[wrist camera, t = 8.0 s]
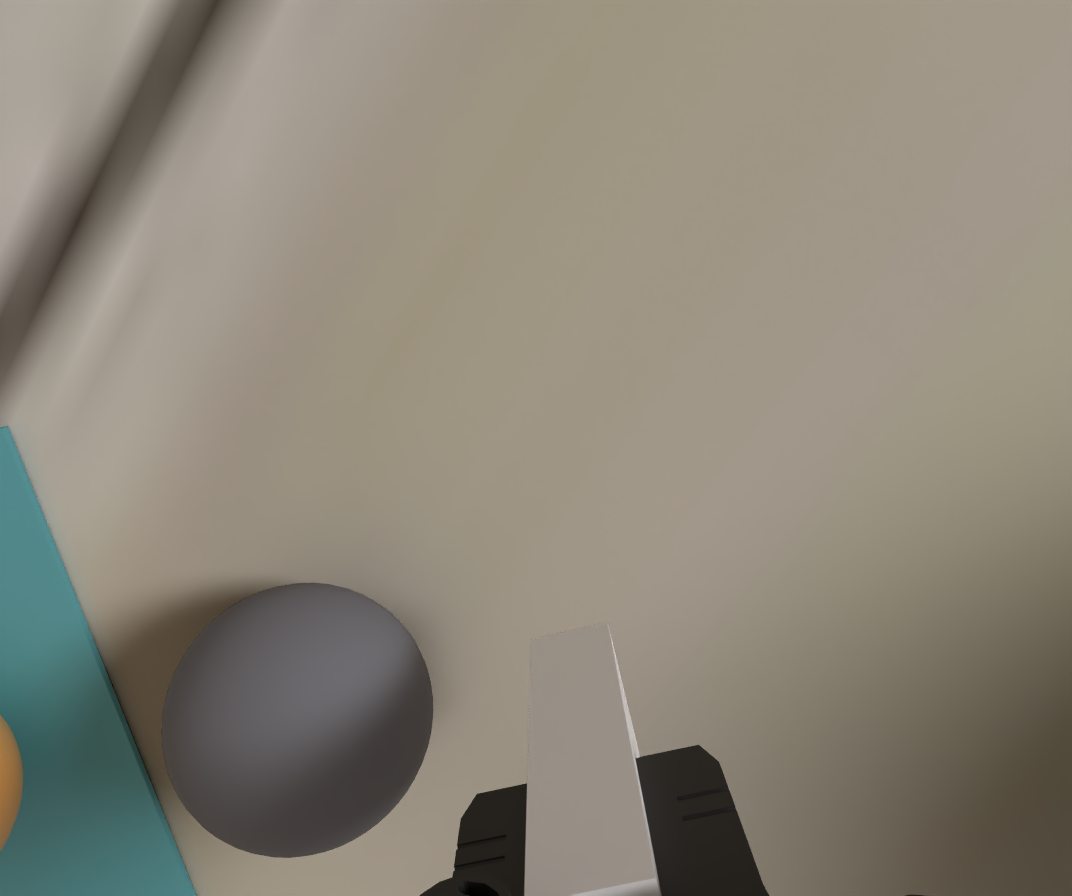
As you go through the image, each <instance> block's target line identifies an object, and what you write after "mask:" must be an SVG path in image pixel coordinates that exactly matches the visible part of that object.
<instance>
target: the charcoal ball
mask: <svg viewBox="0 0 1072 896" xmlns="http://www.w3.org/2000/svg"><path fill="white" fill-rule="evenodd" d="M432 719H433V696H432V689H431V683H430V678H429V674H428V671H427V667H426V664H425V661H424V659H423V657H422V655H421V653H420V650H419V648H418V646H417V644H416V642H415V641H414V639H413V638H412V636H411V635H410V633H409V632H408V630H407V629H406V628H405V627H404V626H403V625H402V624H401V623H400V622H399V621H398V620H397V618H396V617H395V616H394V615H393V614H392V613H390V612H389V611H388V610H387V609H385V608H384V607H383V606H381V605H380V604H378V603H377V602H375V601H373V600H372V599H370V598H368V597H366V596H365V595H363V594H360V593H358V592H355V591H352V590H350V589H346V588H343V587H338V586H334V585H329V584H320V583H298V584H291V585H285V586H279V587H275V588H271V589H268V590H265V591H261V592H259V593H257V594H254V595H252V596H250V597H247V598H245V599H243V600H242V601H240V602H238V603H236V604H235V605H233V606H231V607H230V608H228V609H227V610H226V611H224V612H223V613H222V614H220V615H219V616H218V617H216V618H215V619H214V620H213V621H212V622H211V623H210V624H209V625H208V626H207V627H206V628H205V629H204V630H203V631H202V632H201V633H200V634H199V636H198V637H197V638H196V639H195V640H194V641H193V643H192V644H191V646H190V647H189V649H188V650H187V652H186V653H185V655H184V656H183V658H182V659H181V661H180V663H179V665H178V667H177V669H176V671H175V673H174V675H173V678H172V680H171V683H170V686H169V689H168V692H167V696H166V701H165V705H164V710H163V718H162V731H161V733H162V746H163V754H164V760H165V764H166V768H167V772H168V775H169V777H170V779H171V782H172V784H173V786H174V789H175V791H176V793H177V795H178V797H179V798H180V800H181V802H182V803H183V805H184V806H185V808H186V809H187V810H188V811H189V813H190V814H191V815H192V816H193V817H194V818H195V819H196V820H197V821H198V822H199V823H200V824H201V825H202V827H203V828H205V829H206V830H207V831H209V832H210V833H211V834H213V835H214V836H215V837H217V838H219V839H220V840H222V841H224V842H226V843H228V844H230V845H232V846H234V847H235V848H238V849H241V850H244V851H247V852H250V853H254V854H258V855H264V856H270V857H284V858H291V857H301V856H308V855H313V854H317V853H322V852H326V851H329V850H332V849H334V848H337V847H340V846H342V845H344V844H346V843H348V842H350V841H352V840H354V839H356V838H357V837H359V836H361V835H362V834H364V833H366V832H367V831H368V830H370V829H371V828H372V827H374V826H375V825H376V824H378V823H379V822H380V821H381V820H382V819H383V818H384V817H385V816H387V815H388V814H389V813H390V811H391V810H392V809H393V808H394V807H395V806H396V805H397V804H398V803H399V801H400V800H401V799H402V797H403V796H404V795H405V793H406V792H407V791H408V789H409V787H410V786H411V784H412V782H413V781H414V779H415V777H416V775H417V773H418V771H419V769H420V766H421V764H422V762H423V759H424V756H425V753H426V750H427V748H428V744H429V739H430V735H431V728H432Z"/></svg>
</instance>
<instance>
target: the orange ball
mask: <svg viewBox="0 0 1072 896" xmlns="http://www.w3.org/2000/svg"><path fill="white" fill-rule="evenodd" d="M22 791H23V766H22V759H21V754H20V751H19V747H18V744H17V741H16V739H15V737H14V734H13V732H12V730H11V728H10V727H9V725H8V724H7V722H6V721H5V719H4V718H3V717H2V716H1V715H0V851H1V849H2V848H3V846H4V845H5V843H6V841H7V839H8V837H9V835H10V833H11V830H12V828H13V825H14V823H15V820H16V818H17V815H18V811H19V808H20V803H21V799H22Z"/></svg>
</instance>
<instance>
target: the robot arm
mask: <svg viewBox="0 0 1072 896" xmlns="http://www.w3.org/2000/svg"><path fill="white" fill-rule="evenodd" d="M457 846H458V849H457V850H456V857H455V864H454V867H455V871H453V877H452V878H449V879H447V880H444V881H441V882H439V883H437V884H436V885H434V886H433V887H431V888H430V889H428V890H427V891H425V892H424V893H422V894H421V895H420V896H769V894H768V893H767V891H766V889H765V887H764V885H763V883H762V880H761V877H760V875H759V872H758V869H757V866H756V863H755V861H754V858H753V855H752V852H751V849H750V847H749V844H748V841H747V838H746V835H745V833H744V830H743V827H742V824H741V822H740V819H739V816H738V813H737V810H736V809H735V805H734V802H733V799H732V796H731V794H730V791H729V789H728V785H727V783H726V780H725V777H724V774H723V771H722V769H721V766H720V763H719V762H718V761H717V760H716V759H715V758H714V757H712V756H711V755H710V754H709V753H708V752H707V751H705V750H704V749H703V748H702V747H701V746H699V745H695V746H691V747H686V748H681V749H676V750H672V751H667V752H662V753H657V754H653V755H648V756H643V757H640V756H639V751H638V746H637V742H636V738H635V734H634V730H633V725H632V721H631V717H630V713H629V709H628V705H627V700H626V696H625V692H624V688H623V684H622V680H621V675H620V671H619V667H618V663H617V659H616V655H615V650H614V646H613V642H612V638H611V634H610V630H609V625H608V622H606V623H602V624H597V625H593V626H588V627H583V628H579V629H574V630H570V631H565V632H561V633H556V634H552V635H547V636H543V637H538V638H534V639H531V652H530V691H529V730H528V769H527V784H522V785H517V786H513V787H508V788H503V789H499V790H494V791H489V792H484V793H480V794H477V795H476V796H475V798H474V799H473V801H472V802H471V804H470V806H469V807H468V809H467V810H466V812H465V813H464V815H463V816H462V818H461V822H460V829H459V836H458V843H457ZM906 896H922V895H906Z"/></svg>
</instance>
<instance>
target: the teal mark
mask: <svg viewBox="0 0 1072 896" xmlns="http://www.w3.org/2000/svg"><path fill="white" fill-rule="evenodd" d="M0 715H1V716H2V717H3V718H4V719H5V721H6V722H7V724H8V725H9V727H10V728H11V730H12V732H13V734H14V737H15V739H16V741H17V744H18V747H19V751H20V754H21V759H22V766H23V791H22V799H21V803H20V808H19V811H18V815H17V818H16V820H15V823H14V825H13V828H12V830H11V833H10V835H9V837H8V839H7V841H6V843H5V845H4V846H3V848H2V849H1V851H0V896H196V893H195V891H194V888H193V886H192V883H191V881H190V878H189V876H188V873H187V871H186V868H185V866H184V863H183V861H182V859H181V856H180V854H179V851H178V849H177V846H176V844H175V841H174V839H173V836H172V834H171V831H170V829H169V826H168V824H167V821H166V819H165V816H164V814H163V811H162V809H161V806H160V804H159V801H158V799H157V796H156V794H155V791H154V789H153V786H152V784H151V781H150V779H149V776H148V774H147V771H146V769H145V766H144V764H143V761H142V759H141V756H140V754H139V752H138V749H137V747H136V744H135V742H134V739H133V737H132V734H131V732H130V729H129V727H128V724H127V722H126V719H125V717H124V714H123V712H122V709H121V707H120V704H119V702H118V699H117V697H116V694H115V692H114V689H113V687H112V684H111V682H110V679H109V677H108V674H107V672H106V669H105V667H104V664H103V662H102V659H101V657H100V654H99V652H98V649H97V647H96V645H95V642H94V640H93V637H92V635H91V632H90V630H89V627H88V625H87V622H86V620H85V617H84V615H83V612H82V610H81V607H80V605H79V602H78V600H77V597H76V595H75V592H74V590H73V587H72V585H71V582H70V580H69V577H68V575H67V572H66V570H65V567H64V565H63V562H62V560H61V557H60V555H59V552H58V550H57V547H56V545H55V542H54V540H53V538H52V535H51V533H50V530H49V528H48V525H47V523H46V520H45V518H44V515H43V513H42V510H41V508H40V505H39V503H38V500H37V498H36V495H35V493H34V490H33V488H32V485H31V483H30V480H29V478H28V475H27V473H26V470H25V468H24V465H23V463H22V460H21V458H20V455H19V453H18V450H17V448H16V445H15V443H14V440H13V438H12V435H11V433H10V430H9V428H8V426H6V427H2V428H0Z"/></svg>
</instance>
